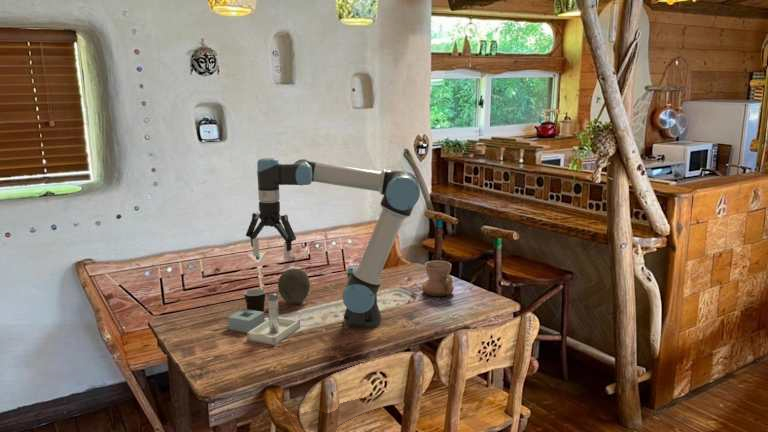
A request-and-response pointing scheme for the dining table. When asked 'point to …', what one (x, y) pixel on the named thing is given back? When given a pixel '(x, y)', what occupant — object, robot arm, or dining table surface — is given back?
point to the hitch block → (245, 320)
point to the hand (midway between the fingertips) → (271, 257)
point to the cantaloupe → (293, 285)
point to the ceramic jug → (438, 278)
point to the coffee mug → (255, 299)
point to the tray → (264, 335)
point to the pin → (273, 313)
